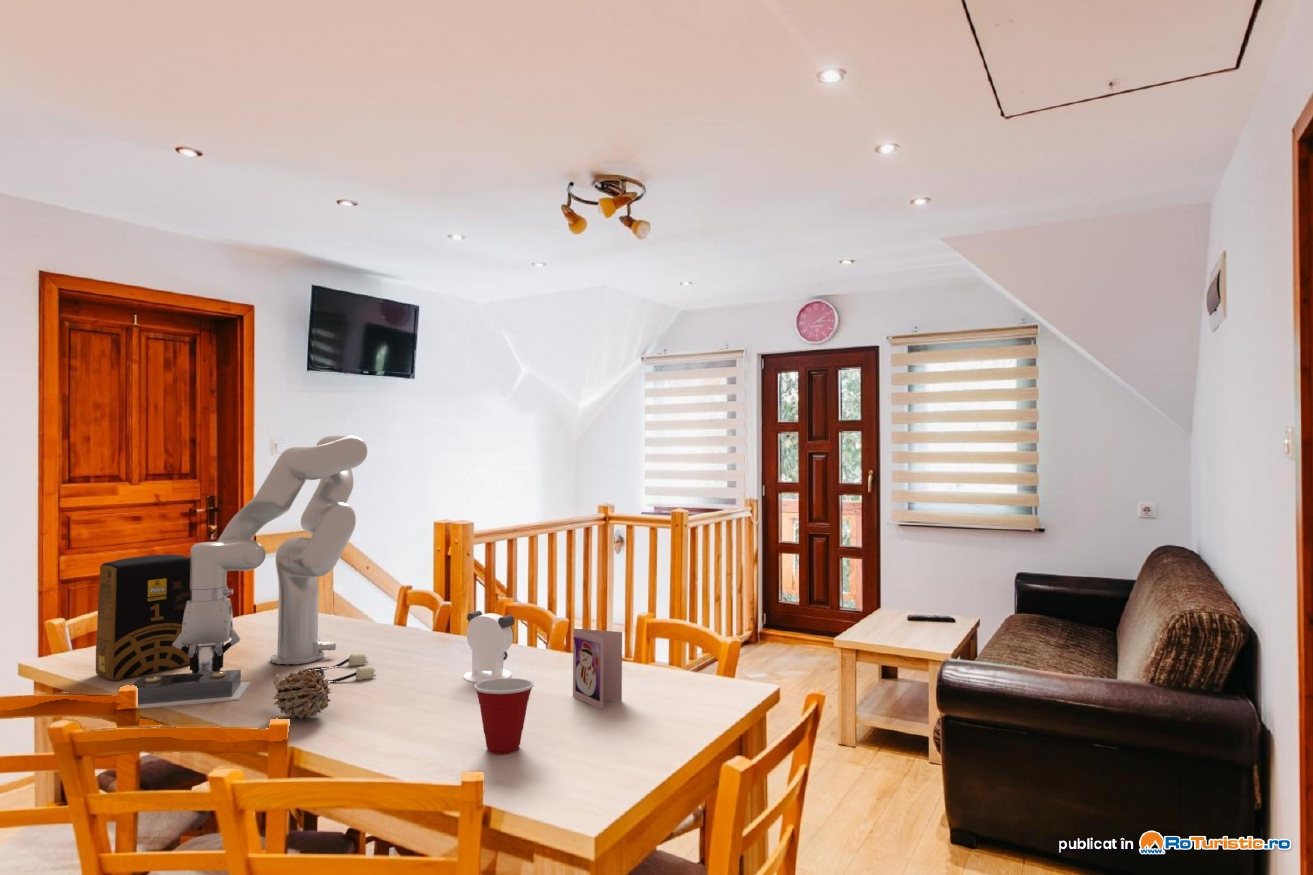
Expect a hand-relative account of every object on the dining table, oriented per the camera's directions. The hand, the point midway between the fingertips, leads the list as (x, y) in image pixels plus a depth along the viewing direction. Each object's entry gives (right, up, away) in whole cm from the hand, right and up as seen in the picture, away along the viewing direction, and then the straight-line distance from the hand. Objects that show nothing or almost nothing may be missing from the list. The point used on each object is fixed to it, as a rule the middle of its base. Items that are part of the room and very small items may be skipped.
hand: (206, 671), depth 177 cm
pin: (0, -2, 0) cm, 2 cm away
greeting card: (+94, -2, -13) cm, 95 cm away
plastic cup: (+79, -2, -40) cm, 88 cm away
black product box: (-19, -2, +7) cm, 21 cm away
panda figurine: (+66, -3, +4) cm, 66 cm away
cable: (+30, -3, +5) cm, 31 cm away
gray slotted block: (+3, -1, -13) cm, 13 cm away
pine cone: (+32, -2, -23) cm, 39 cm away
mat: (+3, -1, -13) cm, 13 cm away
